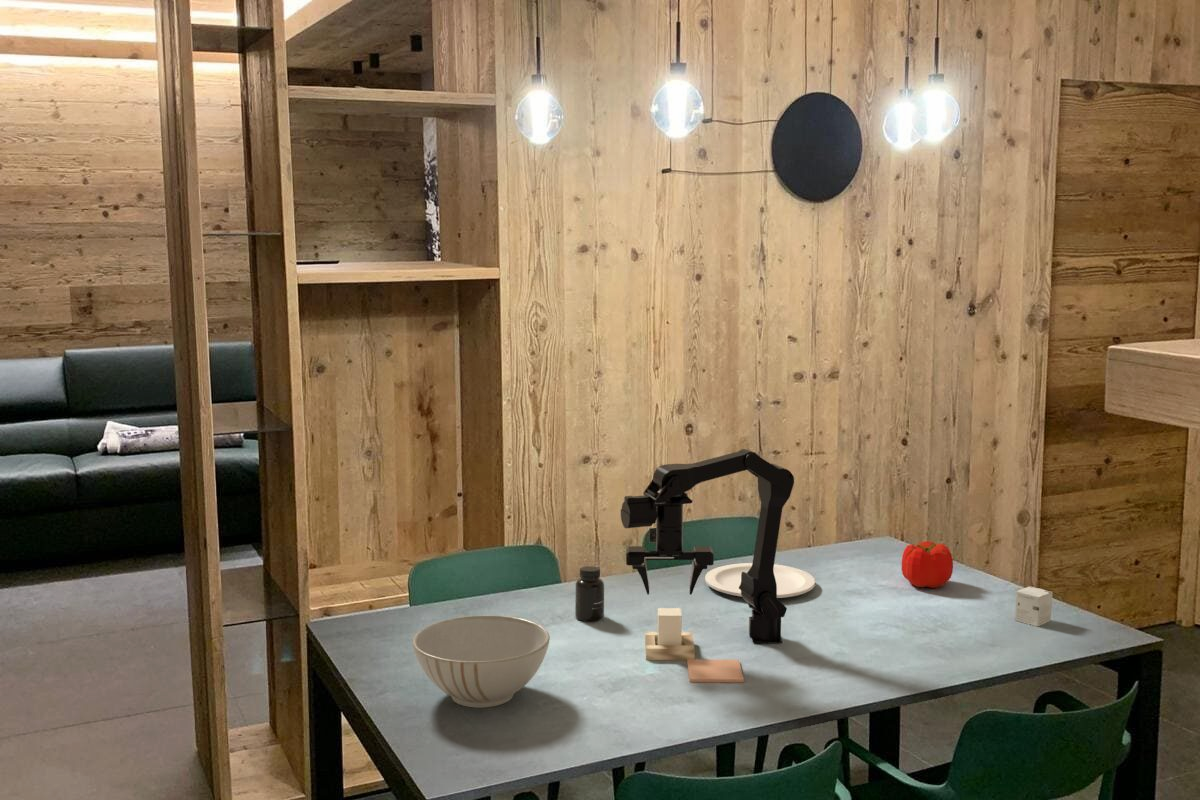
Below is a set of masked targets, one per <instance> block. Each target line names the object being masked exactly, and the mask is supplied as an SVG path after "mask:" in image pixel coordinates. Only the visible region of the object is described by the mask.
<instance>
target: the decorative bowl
mask: <svg viewBox="0 0 1200 800" xmlns="http://www.w3.org/2000/svg"><path fill="white" fill-rule="evenodd" d="M549 644H550V633H549V632H548V630H547V629H546V628H545V627H544V626H542V625H540V624H539V623H537V622H534V621H531V620H529V619H525V618H520V617H515V616H509V615H494V614H493V615H492V614H491V615H489V614H484V615H483V614H481V615H480V614H479V615H469V616H468V615H467V616H460V617H453V618H449V619H446V620H441V621H439V622H435V623H432V624H429V625H427V626H425V627H424V628H422V629H421V630H419V631H418V632H417V633H416V634H415V635H414V637H413V639H412V647H413V650H414V654H415V657H416V659H417V662H418V664H419V665H420V667H421V669H422V671H423V673H424V674H425V675H426V677H427V678H428V679H429V680H430V682H431V683H432V684H433V685H434V686H435V687H437V689H439V690H441V692H443V693H444V694H446V695H447V696H450V697H451V700H452V701H453V702H454V703H456V704H458V705H460V706H463V707H468V708H477V709H478V708H479V709H480V708H483V709H484V708H493V707H497V706H501V705H503V704H506V703H508V702H509V701H510V700H512V699H513V697H514V694H515V693H517V692H518V691H520V690H521V689H523V688H524V687H525V686H526V685H527V684H528V683H529V682H530V681H531V680H532V679H533V677H534V676H535V675H536V673H538V670H539V669H540V668H541V665H542V663H543V662H544V660H545V658H546V654H547V651H548V649H549V646H550V645H549Z"/></svg>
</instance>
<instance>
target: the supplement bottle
mask: <svg viewBox="0 0 1200 800" xmlns="http://www.w3.org/2000/svg"><path fill="white" fill-rule="evenodd" d="M600 577H601V568H600V567H598V566H594V565H590V566H587V565H586V566H582V567H580V568H579V578H578V579H577V580H576V582H575V589H574V590H575V603H574V605H575V606H574V607H575V611H574V612H575V618H576V619H577V620H579V621H582V622H589V623H591V622H597V621H598V622H599V621H601V620H603V618H604V616H605V582H604V580H603V579H601V578H600Z"/></svg>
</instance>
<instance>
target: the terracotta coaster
mask: <svg viewBox="0 0 1200 800" xmlns="http://www.w3.org/2000/svg"><path fill="white" fill-rule="evenodd" d="M686 664H687V672H688V679H689V682H690V683H744V682H745V678H744V674H743V671H742V670H743V669H742V667H741V663H740V659H695V660H686Z"/></svg>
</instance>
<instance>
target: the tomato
mask: <svg viewBox="0 0 1200 800" xmlns="http://www.w3.org/2000/svg"><path fill="white" fill-rule="evenodd" d="M953 571H954V559H953V556H952V553H951V550H950V549H949V547H948V546H947V545H945V544H943V543H935V542H933V541H929V540H926V541H921V542H919V543H916V544H907V545H906V547H905V548H904V550H903V552H902V555H901V572H902V573H901V574H902V576H903V578H905V579H906V580H907V581H908V582H909V583H910V584H911V585H913V586H915V587H917V588H925V587H928V588H930V589H937V588H939V587H941V586H944V585H946V583H947V582H948V581H949V580H950V579H951V578H952V575H953Z"/></svg>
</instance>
